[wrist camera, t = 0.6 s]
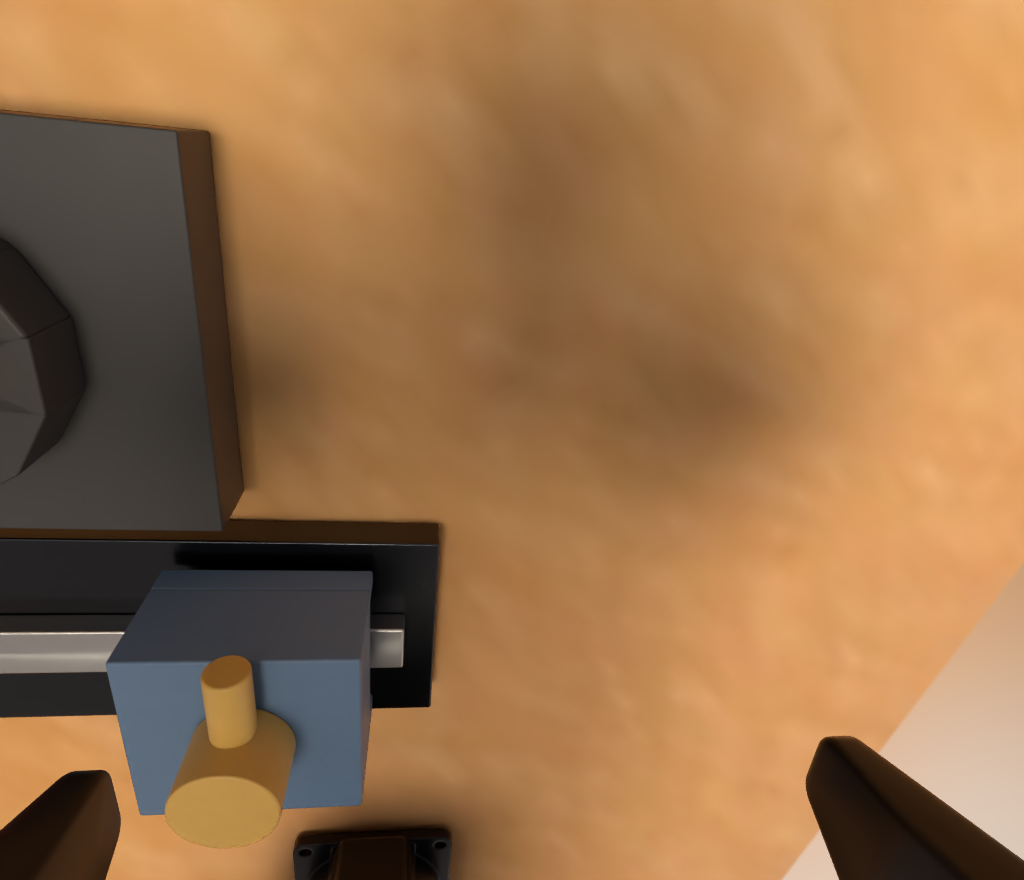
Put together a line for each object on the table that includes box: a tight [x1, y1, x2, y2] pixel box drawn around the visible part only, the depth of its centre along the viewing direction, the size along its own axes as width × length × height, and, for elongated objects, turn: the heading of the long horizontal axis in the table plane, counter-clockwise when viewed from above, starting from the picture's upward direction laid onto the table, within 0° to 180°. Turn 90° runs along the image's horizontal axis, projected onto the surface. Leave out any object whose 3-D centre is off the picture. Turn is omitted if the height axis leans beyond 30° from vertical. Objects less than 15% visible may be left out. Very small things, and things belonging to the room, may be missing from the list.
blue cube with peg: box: [106, 570, 373, 848], centre depth 17 cm, size 6×6×6 cm
